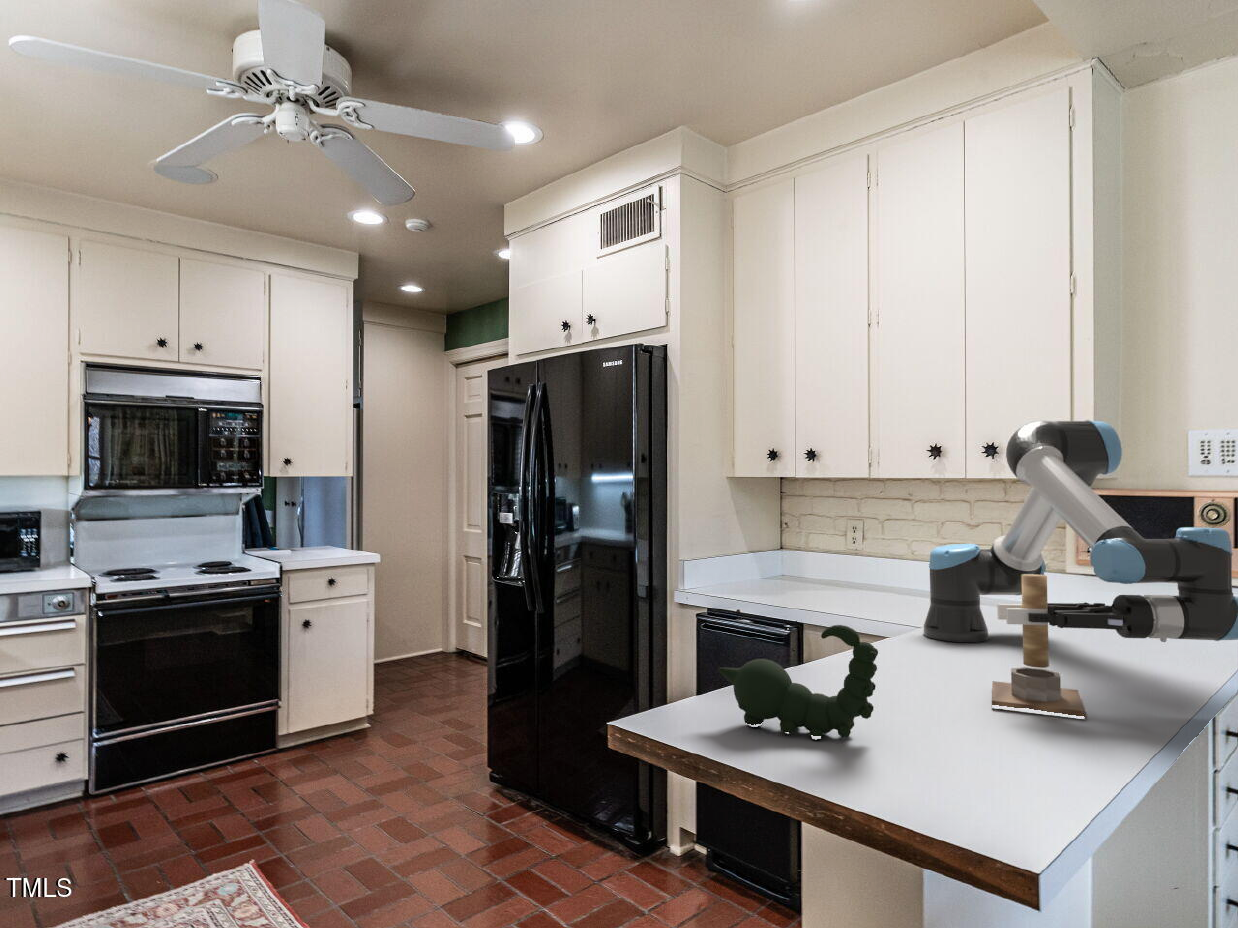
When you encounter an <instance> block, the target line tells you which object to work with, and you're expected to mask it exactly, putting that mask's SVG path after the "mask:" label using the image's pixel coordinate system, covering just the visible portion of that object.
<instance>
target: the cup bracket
mask: <svg viewBox="0 0 1238 928" xmlns="http://www.w3.org/2000/svg"><path fill="white" fill-rule="evenodd" d="M1010 672H1011V673H1010V674H1011V682H1004V681H1003V682H1002V681H992V685H991V686H992V688H991V706H992V705H999V706H1007V707H1014V708H1029V709H1034V710H1041V711H1047V712H1054V713H1062V714H1068V715H1076V716H1084V717H1085V718H1086V709H1085V706H1084V704H1083V701H1082V699H1081V695H1080V693H1079V690H1078V689H1070V688H1061V686H1062V685H1061V684H1062V683H1061V682H1062V681H1061V674H1060V672H1057V671H1053V670H1049V669H1046V668H1038V667H1030V666H1023V667H1012V668H1011V669H1010Z"/></svg>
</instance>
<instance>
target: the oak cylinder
mask: <svg viewBox="0 0 1238 928" xmlns="http://www.w3.org/2000/svg"><path fill="white" fill-rule="evenodd" d="M1048 603H1049V602H1048V575H1046V574H1044V575H1037V574H1023V575H1022V595H1021V604H1022V609H1047V613H1048ZM1049 650H1050V649H1049V624H1048V625H1022V651H1023V652H1022V658H1023V660H1022V661H1023V663H1022V664H1023V665H1024V666H1025V667H1029V668H1040V669H1046V668H1049V667H1050V662H1049V659H1050V655H1049V654H1050V653H1049V652H1050V651H1049Z"/></svg>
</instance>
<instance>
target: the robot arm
mask: <svg viewBox="0 0 1238 928" xmlns="http://www.w3.org/2000/svg"><path fill="white" fill-rule="evenodd" d="M1122 449H1123V448H1122V443H1121V440H1120V437H1119V434H1118V432H1117V431H1116V429H1115V428H1114V427H1113V426H1112V425H1110V424H1109V423H1107V422H1105V421H1102V420H1101V421H1100V420H1099V421H1098V420H1097V421H1096V420H1090V419H1086V420H1038V421H1032V422H1029V423H1026V424H1024V425H1022V426H1020V428H1018V429H1017V430H1015V432H1014V433H1013V434H1012V435H1011V437H1010V438H1009V440H1008V442H1007V445H1006V449H1005V450H1006V451H1005V457H1006V458H1005V459H1006V463H1007V465H1008V467H1009V470H1010V471H1011V473H1013V475H1014V476H1015V478H1017V479H1018V481H1019V482H1021V484H1024V485H1027V486H1030V487H1031V489H1030V490H1029V492H1028V494H1027V496H1026V498H1025V500H1024V502H1023V503H1022V505H1021V507H1020V509H1019V511H1018V512H1017V514H1016V516H1015V518H1014V520H1013V521H1012V523H1011V525H1010V527H1009V529H1008V530H1007V533H1006V534H1005V535H1001V536H998V537H997V538H996V539H995V540H994V542H993V543H992V545H991V548H988V549H987V548H986V549H984V548H983V549H980V546H979V545H978V544H976V543H957V544H956V543H955V544H953V543H952V544H947V545H946V544H945V545H941V546H938V547H934V548H933V549H932V550H931V551H930V553H929V564H928V567H929V591H930V593H929V595H930V598H929V599H930V602H929V603H930V604H929V608H928V611H927V614H926V616H925V617H926V618H925V620H924V624H923V636H925V637H927V638H930V639H934V640H938V641H946V642H953V643H954V642H955V643H980V642H985V641H988V640H989V629H988V626H987V623H986V620H985V618H984V614H983V613H982V609H981V596H1022V575H1023V574H1037V575H1045V573H1046V572H1047V571H1046V563H1045V560H1044V557H1043V554H1042V551H1043V550H1044V548H1045V546H1046V545H1047V543H1048V541H1049V540H1050V539H1051V537H1052V535H1053V533H1054V531H1056V529H1057V527H1058V526H1059V523H1060V522H1061V521H1062V520H1063V521H1064V522H1065V523H1066V524H1067V525H1068V526H1069V527H1070V528H1071V530H1072V531H1074V533H1075V534H1076V535H1077V536H1078V537H1079V538H1080V539H1081V540H1082V541H1083V542H1084V543H1085V544H1086V545H1087V546H1088V547H1089V548H1090V550H1091V551H1090V554H1089V555H1090V556H1089V561H1090V565H1091V566H1092V567H1093V573H1094V574H1095V575H1096V576H1097V578H1099V579H1100V580H1102V581H1103V582H1106V583H1118V584H1123V585H1128V584H1129V585H1132V584H1153V583H1154V584H1155V583H1157V584H1158V583H1177V590H1178V594H1177V595H1170V594H1144V595H1141V594H1120V595H1117V596H1116V597H1115V598H1114V599H1113V601H1112V604H1111V605H1106V603H1104V602H1103V603H1102V602H1095V603H1088V602H1078V603H1076V602H1075V603H1073V602H1072V603H1071V602H1070V603H1064V602H1061V603H1060V602H1059V603H1058V602H1057V603H1056V602H1050V603H1049V602H1047V603H1048V613H1047V609H1022V603H1021V604H1019V603H1018V604H1015V603H1011V604H1010V603H1009V604H1006V603H997V604H996V605H997V620H1002V621H1003V620H1006V624H1007V625H1021V626H1023V625H1048V626H1052V627H1056V626H1057V628H1059V629H1064V628H1066V629H1093V630H1094V629H1098V630H1100V629H1103V630H1115V631H1116V633H1117V634H1118V635H1119V636H1120V637H1121V638H1123V639H1147V638H1149V639H1159V641H1160V642H1161V643H1166V642H1167V641H1168V640H1167V639H1171V640H1197V641H1214V642H1215V641H1216V642H1219V641H1235V640H1236V641H1237V640H1238V596H1235V595H1234V592H1233V579H1232V578H1233V577H1232V576H1233V575H1232V573H1233V572H1232V571H1233V570H1232V567H1233V564H1232V563H1233V562H1232V561H1233V560H1232V557H1233V554H1234V553H1233V551H1232V550H1233V549H1232V541H1231V536H1230V533H1229V532H1228V531H1227V530H1226V529H1225V528H1220V527H1198V526H1196V527H1194V526H1192V527H1191V526H1189V527H1188V526H1185V527H1178V529H1176V534H1175V537H1174V538H1152V539H1151V538H1150V539H1149V538H1147V539H1146V538H1144V537H1143V536H1142V535H1141V534H1140V533H1138V532H1137V531H1136V530H1135V529H1134V528H1133V527H1132V526H1131V525H1130V524H1129V523H1128V522H1127V521H1126V520H1125V519H1124V518H1123V517H1122V516H1121V515H1119V514H1118V513H1117V512H1116V511H1115V510H1114V509H1113V508H1112V507H1111V506H1110V504H1108V503H1107V502H1105V500H1104V499H1103V498H1101V496H1099V495H1098V494H1097V492H1095V490H1093V489H1092V488H1091V486H1092V484H1094V482H1095V480H1096V479H1097V477H1098V475H1108V474H1112V473H1115V471H1116V470H1117V469H1118V468H1119V466H1120V465H1121V460H1122V456H1123V455H1122V453H1123V452H1122V451H1123V450H1122Z"/></svg>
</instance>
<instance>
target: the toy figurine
mask: <svg viewBox="0 0 1238 928" xmlns="http://www.w3.org/2000/svg"><path fill="white" fill-rule="evenodd" d="M820 637H821V639H823V640H824V639H826V638H828V637H836V638H838V639H840V640H841V641H843V643H844V644H846V645H847V646H849V647H853V648H852V649H853V650H852V656H853V658H851V659H850V661H849V663H848V674H847V675H846V676H845V678H844V680H843V687H842V688H841V689H840V690H839V691H838V692H837V694H836V695H831V696H828V695H825V694H823V693H818V692H817V693H816V692H815V693H812V691H811V690H810V689H809V688H808V687H807V686H805V685H804V684H801V683H797V682H792V679H791V676H790V674H789V673H788V672H787V671H786V669H785V668H783V667H782V665H780V664H779V663H777V662H775V661H773V660H770V659H768V658H757V659H753V660H750V661H748V662H746V663H745V664H743V665H742V666H741V667H737V668H736V667H718V668H717V671H718V673H719V674H721V675H722V677H724V678H725V679H726V680H727V681H728V682H730V683H731V685H732V686H733V693H734V697H735V700H736V703H737V704H738V705H737V706H738V708H739V709H740V710H743V712H744V714H743V719H744V721H743V722H744V723H745V724H746V723H747V724H751V725H754V724H755V725H756V724H761V723H762V722H763V723H764V721H765V720H772V719H775V718H777V719H778V720H779V721H780V723H779V728H780V729H779V730H780V731H781V732H782V731H783V732H782V733H784V732H789V733H792V732H793V733H795V732H796V731H797V728H802V727H803V728H804V729H805V730H807V731H808V730H809V731H808V732H809V734H810V735H813V736H822V735H823V736H824V734H823V733H825V734H827V733H830V732H832V731H833V730H836V731H837V735H838V736H840V737H841V738H843V737H845V738H849V737H850V735H851V733H852V729H853V728H854V726H855V721H854V720H855V718H857V717H861V718H863V719H866V720H868V719H869V718H871V717H872V713H874V705H873V704H872V703H871V702H869V701H868V698H870V697H872V696H873V694H874V691H875V690H876V684H875V682H873V681H872V679H873V678H874V676H875V675H876V672H877V670H878V667H877V664H876V663H875V661H876V659H877V657H878V654H879V650H878V649H877V648H876V647H874V645H873V644H872V643H870V642H867V641H860V635H859V634H858V632H857V631H856V630H855V629H854V628H851V627H850V626H847V625H843V624H834V625H831V626H829V627H827V628H826V629H824V631H823V632H822V633H821V636H820ZM793 733H792V734H793ZM809 734H808V735H809ZM810 735H809V736H810ZM823 736H822V737H823Z"/></svg>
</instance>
